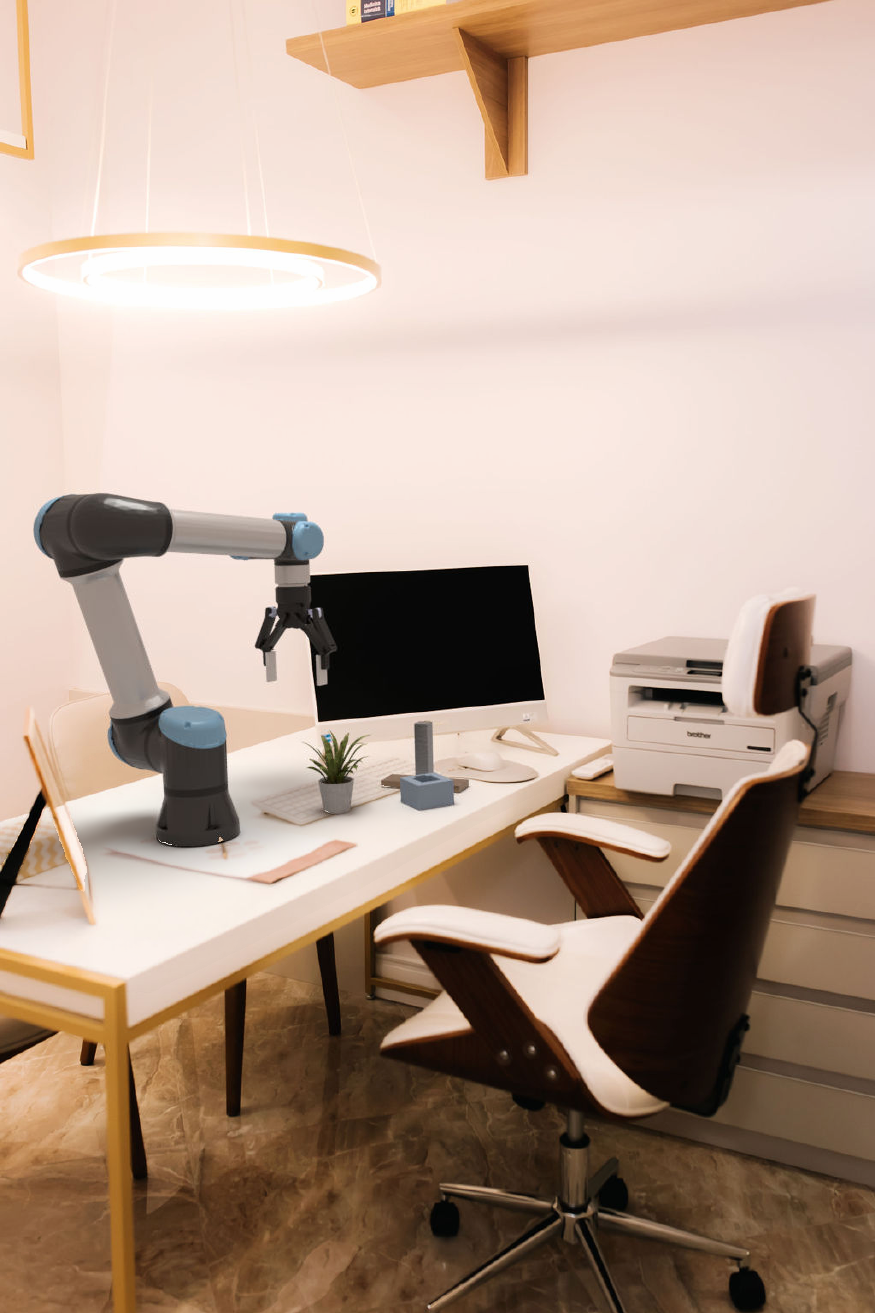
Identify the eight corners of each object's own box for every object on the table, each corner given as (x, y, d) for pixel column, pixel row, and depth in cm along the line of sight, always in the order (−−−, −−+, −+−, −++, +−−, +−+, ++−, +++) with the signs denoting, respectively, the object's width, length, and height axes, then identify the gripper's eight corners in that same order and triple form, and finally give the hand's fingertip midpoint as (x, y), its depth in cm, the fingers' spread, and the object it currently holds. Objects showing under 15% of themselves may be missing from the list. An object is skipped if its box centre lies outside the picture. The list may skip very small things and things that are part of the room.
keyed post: (459, 793, 219) (458, 727, 217) (381, 787, 226) (379, 723, 224) (468, 786, 225) (467, 722, 223) (392, 780, 231) (390, 718, 229)
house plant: (393, 807, 210) (390, 727, 207) (349, 824, 198) (346, 740, 196) (338, 798, 218) (335, 720, 215) (293, 814, 206) (290, 733, 204)
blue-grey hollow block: (454, 804, 210) (453, 780, 210) (418, 810, 207) (418, 785, 206) (434, 795, 217) (434, 772, 217) (400, 801, 214) (400, 777, 213)
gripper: (351, 584, 221) (354, 683, 224) (258, 583, 233) (262, 677, 236) (330, 586, 215) (334, 688, 217) (236, 585, 227) (240, 682, 230)
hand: (296, 683), depth 227 cm, fingers open, 13 cm apart
